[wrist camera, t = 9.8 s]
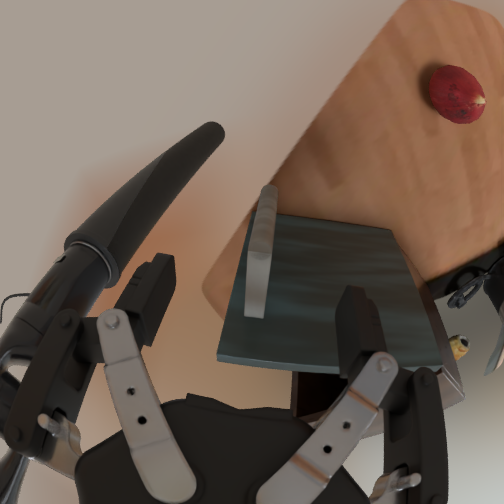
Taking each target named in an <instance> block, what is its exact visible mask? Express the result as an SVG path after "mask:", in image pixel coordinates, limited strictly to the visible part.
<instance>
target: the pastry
mask: <svg viewBox="0 0 504 504" xmlns="http://www.w3.org/2000/svg"><path fill="white" fill-rule="evenodd" d="M449 342H450V345H451V348H452V351H453V354H454V358H455V361H456V360H458V359H459V358H460V357H461V356H464V355H465V354H466V352H467V351H469V347H470V341H469V340H468V339H467V337H465V336H462V335H456V336H453V337H451V338H449Z"/></svg>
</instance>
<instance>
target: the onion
mask: <svg viewBox="0 0 504 504" xmlns="http://www.w3.org/2000/svg"><path fill="white" fill-rule="evenodd" d="M429 95H430V97H431V100H432V104H433V106H434V107H435V109H436V110H437V111H438V112H439V114H440V115H442V116H443V117H444V118H446V119H448V120H450V121H452V122H454V123H457V124H466V123H471V122H473V121H475V120H477V119H478V118H479V117H480V116H481V114H482V113H483V111H484V107H485V105H486V99H485V95H484V92H483V90H482V87H481V85H480V84H479V82H478V81H477V80H476V78H475V77H474V76H473V75H472V74H470V73H469V72H468V71H466V70H465V69H463V68H461V67H457V66H452V65H447V66H445V67H442V68H439V69H437V70H436V71H435V72H434V73H433V75H432V77H431V80H430V82H429Z"/></svg>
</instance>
